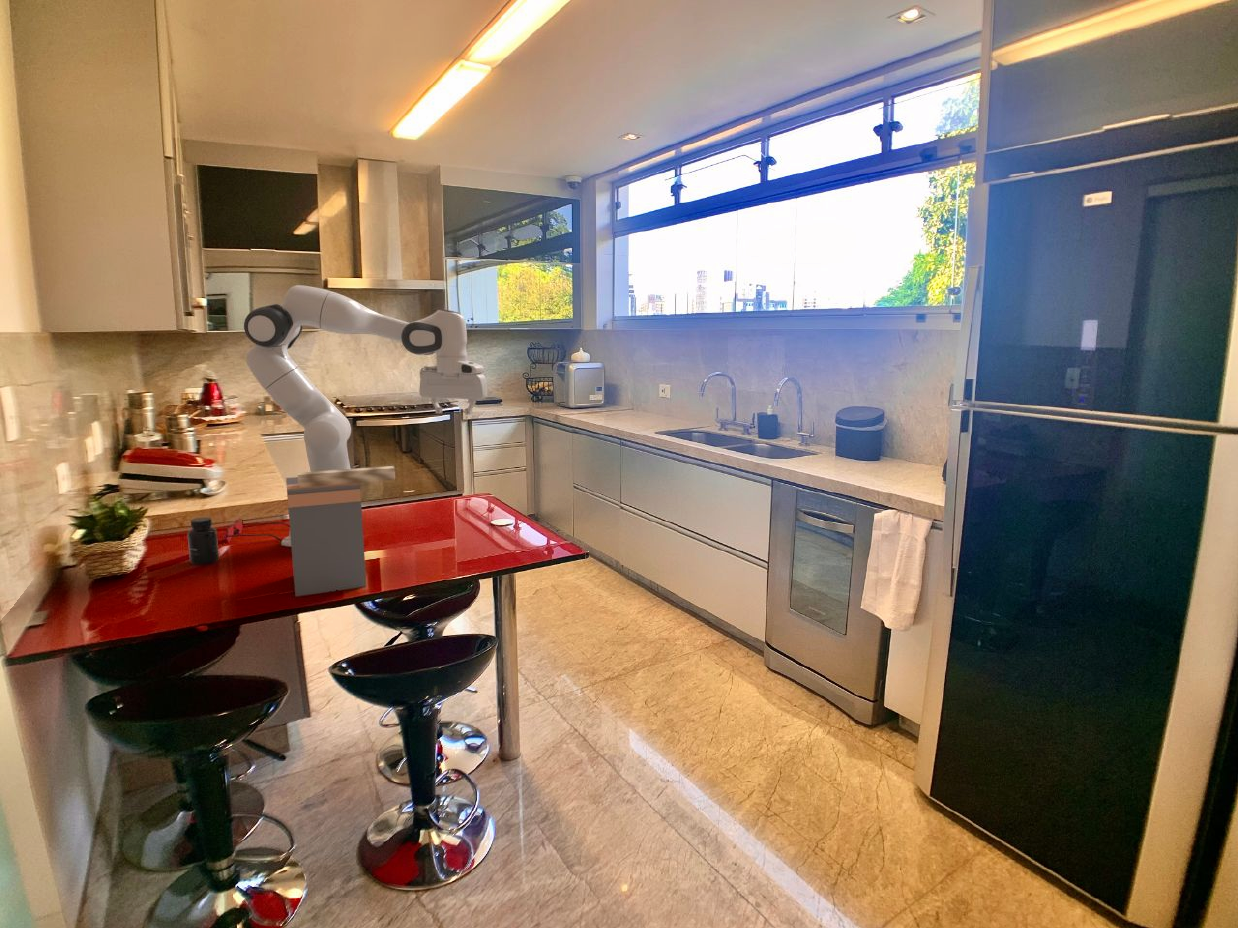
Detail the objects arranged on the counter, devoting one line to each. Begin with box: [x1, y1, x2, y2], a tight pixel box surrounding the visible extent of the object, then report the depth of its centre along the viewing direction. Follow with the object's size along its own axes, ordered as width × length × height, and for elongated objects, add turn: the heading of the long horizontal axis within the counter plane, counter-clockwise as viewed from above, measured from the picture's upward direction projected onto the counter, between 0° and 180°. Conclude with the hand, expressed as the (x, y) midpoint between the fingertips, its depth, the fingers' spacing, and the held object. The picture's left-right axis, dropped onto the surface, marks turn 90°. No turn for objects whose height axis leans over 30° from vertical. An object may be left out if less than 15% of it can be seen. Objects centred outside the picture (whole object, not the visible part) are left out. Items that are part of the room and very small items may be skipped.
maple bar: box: [297, 465, 396, 487], centre depth 166 cm, size 22×3×3 cm, turn 117°
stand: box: [285, 476, 367, 597], centre depth 170 cm, size 16×16×26 cm
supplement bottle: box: [187, 516, 220, 566], centre depth 185 cm, size 7×7×12 cm
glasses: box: [223, 518, 290, 543], centre depth 210 cm, size 14×16×5 cm
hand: (453, 413), depth 200 cm, fingers open, 8 cm apart
